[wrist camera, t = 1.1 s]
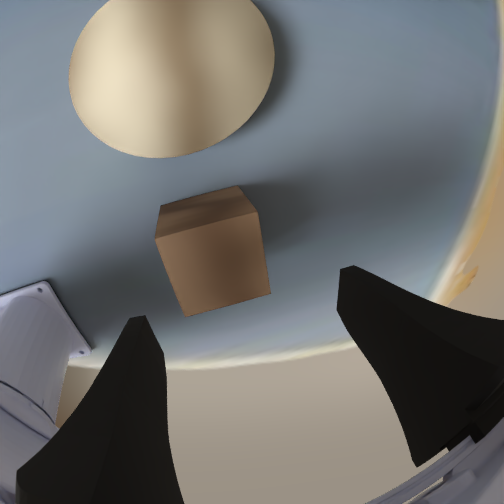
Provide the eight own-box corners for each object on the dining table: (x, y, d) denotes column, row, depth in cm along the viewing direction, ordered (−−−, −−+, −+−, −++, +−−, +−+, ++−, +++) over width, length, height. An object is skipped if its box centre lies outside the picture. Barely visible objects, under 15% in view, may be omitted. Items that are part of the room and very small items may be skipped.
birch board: (104, 174, 15) (93, 184, 13) (75, 23, 9) (61, 12, 7) (274, 130, 16) (288, 133, 14) (246, -18, 11) (256, -34, 8)
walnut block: (182, 270, 19) (185, 317, 15) (160, 205, 17) (154, 238, 12) (250, 252, 20) (270, 293, 15) (237, 185, 17) (257, 211, 13)
